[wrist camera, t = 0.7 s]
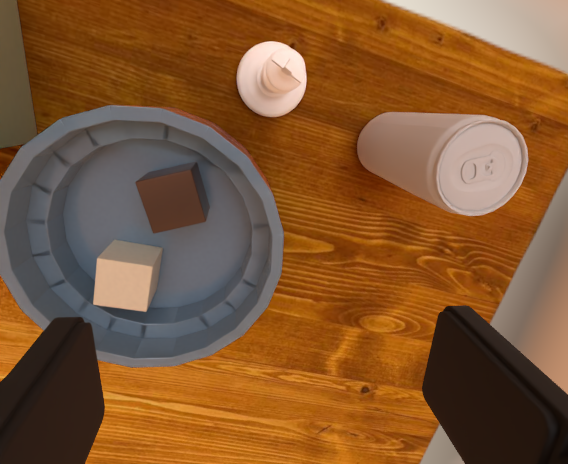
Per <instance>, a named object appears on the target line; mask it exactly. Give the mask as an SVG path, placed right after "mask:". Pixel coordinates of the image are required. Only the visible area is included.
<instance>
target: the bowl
mask: <svg viewBox="0 0 568 464" xmlns="http://www.w3.org/2000/svg"><path fill="white" fill-rule="evenodd" d="M192 162H197V164H198V167H199V171H200V174H201V178H202V181H203V185H204V188H205V192H206V195H207V199H208V202H209V206H210V209H209V212H208V216H207V220H206V222H203V223H198V224H194V225H190V226H185V227H181V228H177V229H172V230H168V231H164V232H159V233H155V234H154V233H153V232H152V229H151V226H150V223H149V220H148V217H147V215H146V212H145V209H144V206H143V203H142V200H141V198H140V195H139V192H138V189H137V186H136V183H135V182H136V181H137V180H139V179H140V178H141V177H143V176H144V175H146V174H147V173H148V172H151V171H156V170H160V169H165V168H169V167H174V166H178V165H183V164H187V163H192ZM113 240H119V241H125V242H131V243H137V244H143V245H149V246H155V247H161V248H163V250H162V257H161V264H160V271H159V278H158V285H157V289H156V292H155V294H154V296H153V298H152V301H151V303H150V305H149V307H148V310H147V311H146V312H144V311H136V310H129V309H121V308H114V307H107V306H99V305H93V300H94V288H95V277H96V265H97V258H98V257H99V256H100V255H101V253H102V252H103V251H104V250H105V249H106V248H107V247H108V246H109V245H110V244H111V243H112V242H113ZM283 245H284V232H283V228H282V224H281V221H280V217H279V214H278V210H277V206H276V203H275V199H274V196H273V193H272V191H271V188H270V185H269V183H268V180H267V179H266V177H265V176H264V174H263V173H262V171H261V170H260V168H259V167H258V165H257V164H256V162H255V161H254V159H253V158H252V156H251V155H250V153H249V152H248V150H247V149H246V148H245V147H244V146H243V145H242V144H240V143H239V142H238V141H237V140H235V139H234V138H233V137H232V136H230V135H229V134H228V133H227V132H225V131H224V130H223V129H222V128H220V127H219V126H218V125H217V124H214V123H213V122H211V121H208V120H206V119H203V118H201V117H198V116H195V115H193V114H190V113H188V112H185V111H183V110H180V109H177V108H173V107H156V106H139V105H107V106H104V107H100V108H96V109H93V110H89V111H85V112H82V113H78V114H74V115H71V116H67V117H64V118H61V119H59V120H58V121H56V122H55V123H53V124H52V125H51V126H49V127H48V128H46V129H45V130H44V131H42V132H41V133H40V134H38V135H37V136H35V137H34V138H33V139H31V140H30V141H28V142H27V143H26V144H24V145H23V146H22V147H21V148H20V149H19V151H18V152H17V154H16V155H15V157H14V159H13V160H12V162H11V163H10V165H9V167H8V168H7V170H6V171H5V173H4V175H3V176H2V178H1V179H0V276H1V277H2V279H3V281H4V282H5V284H6V286H7V287H8V289H9V291H10V292H11V294H12V296H13V297H14V299H15V301H16V302H17V304H18V306H19V307H20V309H21V310H22V311H23V312H24V313H25V314H26V315H27V316H28V317H29V318H31V319H32V320H33V321H34V322H35V323H36V324H37V325H38V326H39V327H40V328H42V329H43V330H45V329H46V328H47V326H48V325H49V324H50V323H51V322H52V320H53V319H55V318H57V317H82V318H83V319H84V322H89V323H91V325H92V330H93V336H94V342H95V348H96V355H97V360H99V361H104V362H109V363H113V364H118V365H122V366H127V367H131V368H133V367H134V368H137V367H169V366H177V365H180V364H184V363H187V362H190V361H194V360H197V359H201V358H204V357H207V356H210V355H213V354H214V353H216V352H217V351H219V350H221V349H222V348H224V347H225V346H227V345H229V344H230V343H232V342H233V341H235V340H236V339H238V338H240V337H241V336H243V335H244V334H245V333H246V331H247V330H248V329H249V328H250V327H251V326H252V324H253V323H254V322H255V321H256V320H257V319H258V318H259V316H260V315H261V314H262V313H263V312H264V311H265V309H266V308H267V307H268V305H269V302H270V300H271V298H272V295H273V293H274V290H275V288H276V286H277V283H278V281H279V278H280V276H281V274H282V273H281V272H282V261H283Z"/></svg>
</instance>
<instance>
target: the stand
mask: <svg viewBox="0 0 568 464" xmlns="http://www.w3.org/2000/svg"><path fill="white" fill-rule="evenodd" d="M35 136H37V128H36V122H35V115H34V109H33V102H32V96H31V90H30V83H29V77H28V70H27V64H26V57H25V51H24V44H23V38H22V31H21V25H20V18H19V12H18V5H17V0H0V149H1V148H6V147H12V146H17V145H23V144H26V143H27V142H28V141H30V140H31V139H33V138H34V137H35Z"/></svg>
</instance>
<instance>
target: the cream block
mask: <svg viewBox="0 0 568 464" xmlns="http://www.w3.org/2000/svg"><path fill="white" fill-rule="evenodd" d="M162 250H163V248H161V247H155V246H149V245H143V244H137V243H131V242H125V241H119V240H113V242H112V243H111V244H110V245H109V246H108V247H107V248H106V249H105V250H104V251H103V252H102V253H101V255H100V256H99V257H98V258H97V265H96V277H95V288H94V300H93V305H99V306H107V307H114V308H121V309H129V310H136V311H144V312H146V311H147V310H148V307H149V305H150V303H151V301H152V298H153V296H154V294H155V292H156V289H157V285H158V278H159V271H160V264H161V257H162Z"/></svg>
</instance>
